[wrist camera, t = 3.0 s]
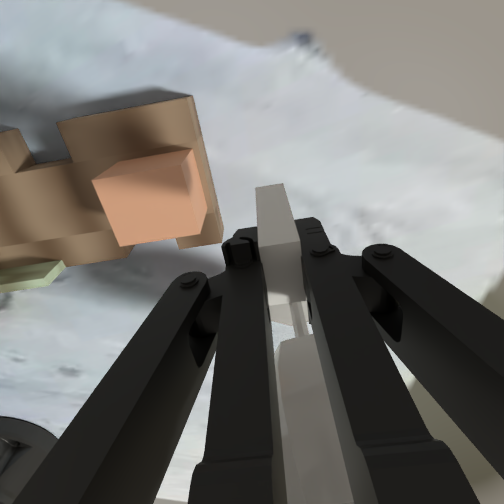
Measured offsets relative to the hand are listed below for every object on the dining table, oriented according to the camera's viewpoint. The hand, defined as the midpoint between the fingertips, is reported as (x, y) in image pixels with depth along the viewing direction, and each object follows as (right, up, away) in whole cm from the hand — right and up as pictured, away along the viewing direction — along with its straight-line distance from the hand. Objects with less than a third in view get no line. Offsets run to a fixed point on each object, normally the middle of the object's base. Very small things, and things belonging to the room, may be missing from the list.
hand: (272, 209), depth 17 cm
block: (-8, +3, +8) cm, 12 cm away
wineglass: (+3, -7, +18) cm, 20 cm away
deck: (-16, +3, +12) cm, 20 cm away
